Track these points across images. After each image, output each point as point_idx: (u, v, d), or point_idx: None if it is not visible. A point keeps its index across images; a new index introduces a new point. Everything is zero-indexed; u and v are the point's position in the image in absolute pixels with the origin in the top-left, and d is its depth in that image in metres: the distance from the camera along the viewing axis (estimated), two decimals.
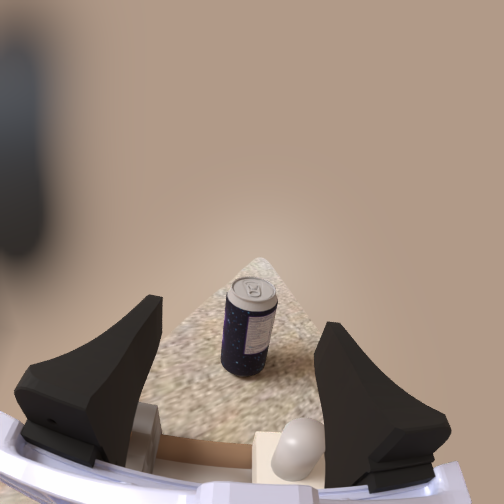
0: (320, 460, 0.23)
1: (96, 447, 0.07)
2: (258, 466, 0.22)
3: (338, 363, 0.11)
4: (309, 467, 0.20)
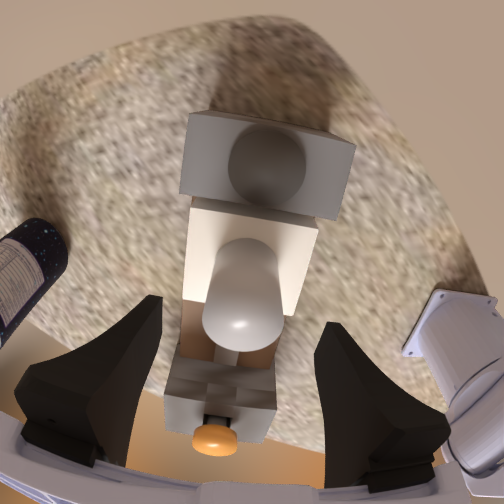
0: (248, 224, 0.17)
1: (96, 447, 0.07)
2: None
3: (338, 363, 0.11)
4: None
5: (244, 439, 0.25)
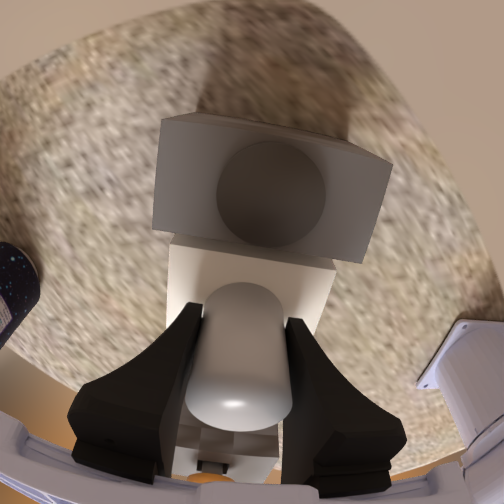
0: (246, 266, 0.13)
1: (156, 463, 0.07)
2: None
3: (295, 360, 0.11)
4: None
5: (243, 481, 0.21)
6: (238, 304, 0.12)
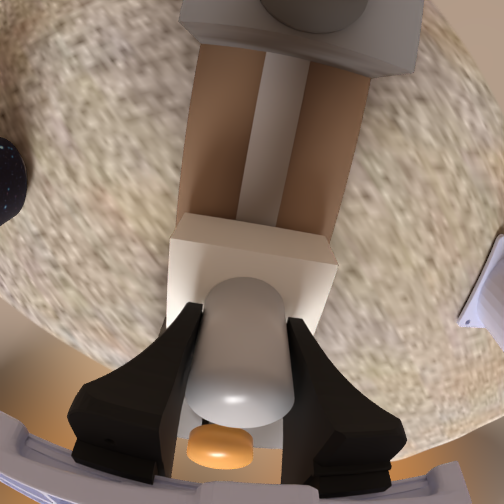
0: (247, 260, 0.13)
1: (156, 463, 0.07)
2: None
3: (295, 360, 0.11)
4: (288, 346, 0.12)
5: (261, 444, 0.18)
6: (239, 298, 0.12)
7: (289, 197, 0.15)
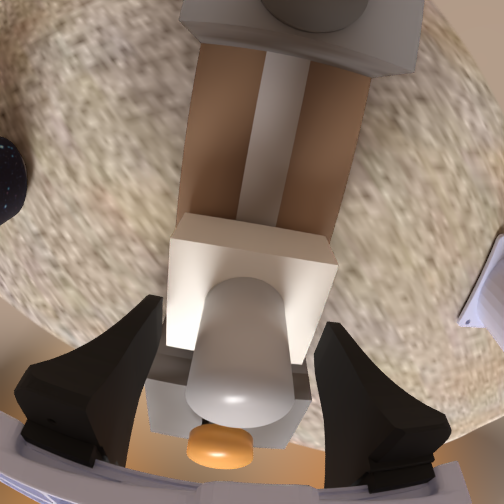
0: (247, 260, 0.13)
1: (96, 447, 0.07)
2: None
3: (338, 363, 0.11)
4: (288, 346, 0.12)
5: (261, 444, 0.18)
6: (239, 298, 0.12)
7: (289, 196, 0.15)
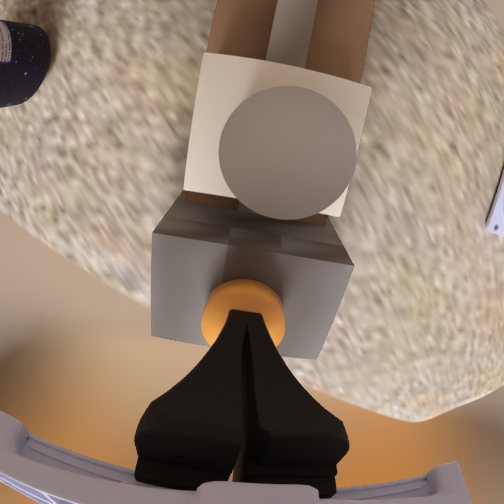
0: (281, 73, 0.11)
1: None
2: None
3: (247, 354, 0.11)
4: None
5: (289, 350, 0.16)
6: None
7: (315, 52, 0.14)
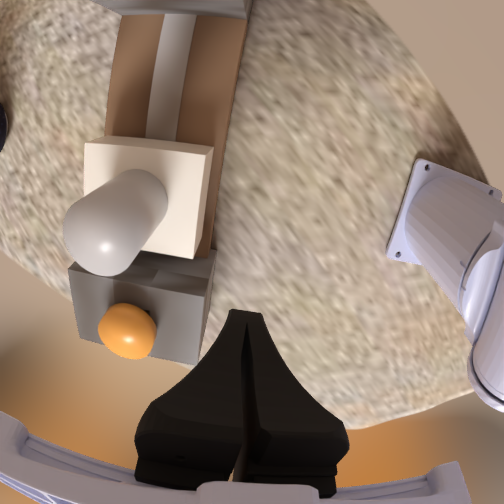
0: (135, 154, 0.15)
1: None
2: None
3: (247, 354, 0.11)
4: (150, 210, 0.14)
5: (173, 356, 0.20)
6: (120, 176, 0.14)
7: (184, 117, 0.18)
